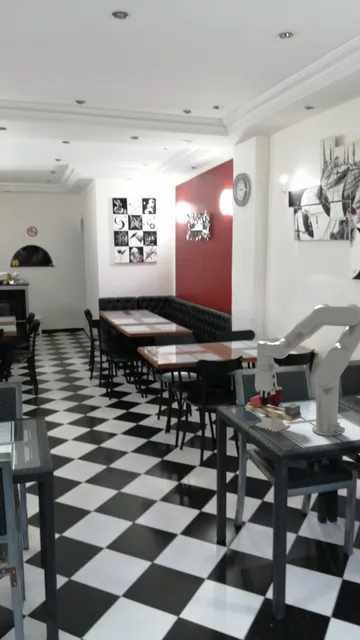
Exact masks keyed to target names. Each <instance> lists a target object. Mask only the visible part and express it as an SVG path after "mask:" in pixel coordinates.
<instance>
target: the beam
mask: <svg viewBox="0 0 360 640" xmlns="http://www.w3.org/2000/svg"><path fill="white" fill-rule="evenodd" d="M245 411H247V412H251V413H254V414H259V415H262V416H265V415H266V417H269V416H270V417H274V418H278V419H282V420H283V421H286V422H289V423H290V422H291V423H292V422H294V421H296V420H299V419H301V418H302V412H301V404H298V403H290V404H287V405H285V406H284V408H283V407H279V406H278V407H275V406H271V405H270V404H268V405H266V406H262V407H258V408H257V407H253V406H252V403H251V401H249V402H247V403H246V404H245Z"/></svg>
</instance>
